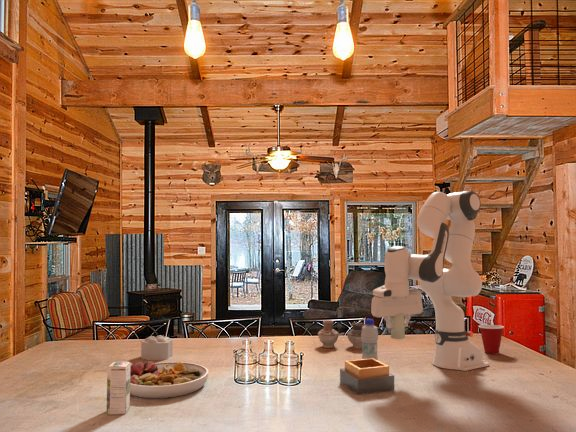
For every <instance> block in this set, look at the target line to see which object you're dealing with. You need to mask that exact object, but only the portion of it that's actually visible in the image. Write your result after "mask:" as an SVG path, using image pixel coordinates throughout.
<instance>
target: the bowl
mask: <svg viewBox="0 0 576 432" xmlns="http://www.w3.org/2000/svg"><path fill="white" fill-rule="evenodd" d="M208 377H209V369H208V368H207V367H205V366H204V365H201V364H197V363H194V362H192V363H191V362H185V361H167V362H165V361H164V362H156V363H155V362H154V361H153V360H147V361H146V362H145V363H143V362H142V361H136V362H134V363H131V364H130V395H132V396H135V397H140V398H146V399H168V397H170V398H176V397H175V396H177V397H180V396H181V397H182V396H185V395H188V393H189V394H191V393H193V392H196V391H198V390H200V389H201V388H202V387H203V386H204V385H205V384H206V382H207V380H208Z"/></svg>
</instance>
